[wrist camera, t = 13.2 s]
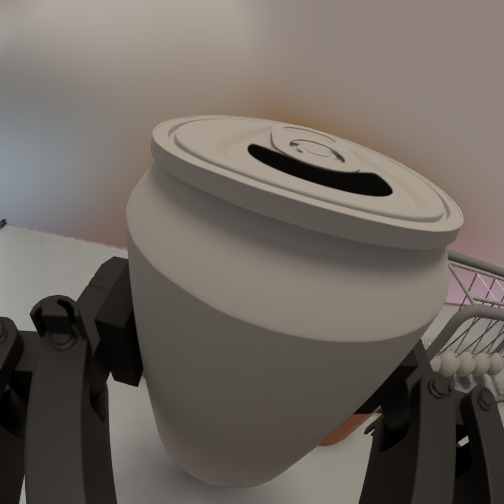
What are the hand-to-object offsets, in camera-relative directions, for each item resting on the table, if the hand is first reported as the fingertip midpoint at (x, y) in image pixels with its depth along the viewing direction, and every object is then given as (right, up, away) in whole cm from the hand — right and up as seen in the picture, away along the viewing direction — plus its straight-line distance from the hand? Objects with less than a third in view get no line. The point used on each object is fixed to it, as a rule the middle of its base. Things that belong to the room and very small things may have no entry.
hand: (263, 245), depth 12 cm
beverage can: (-1, -8, -1) cm, 8 cm away
